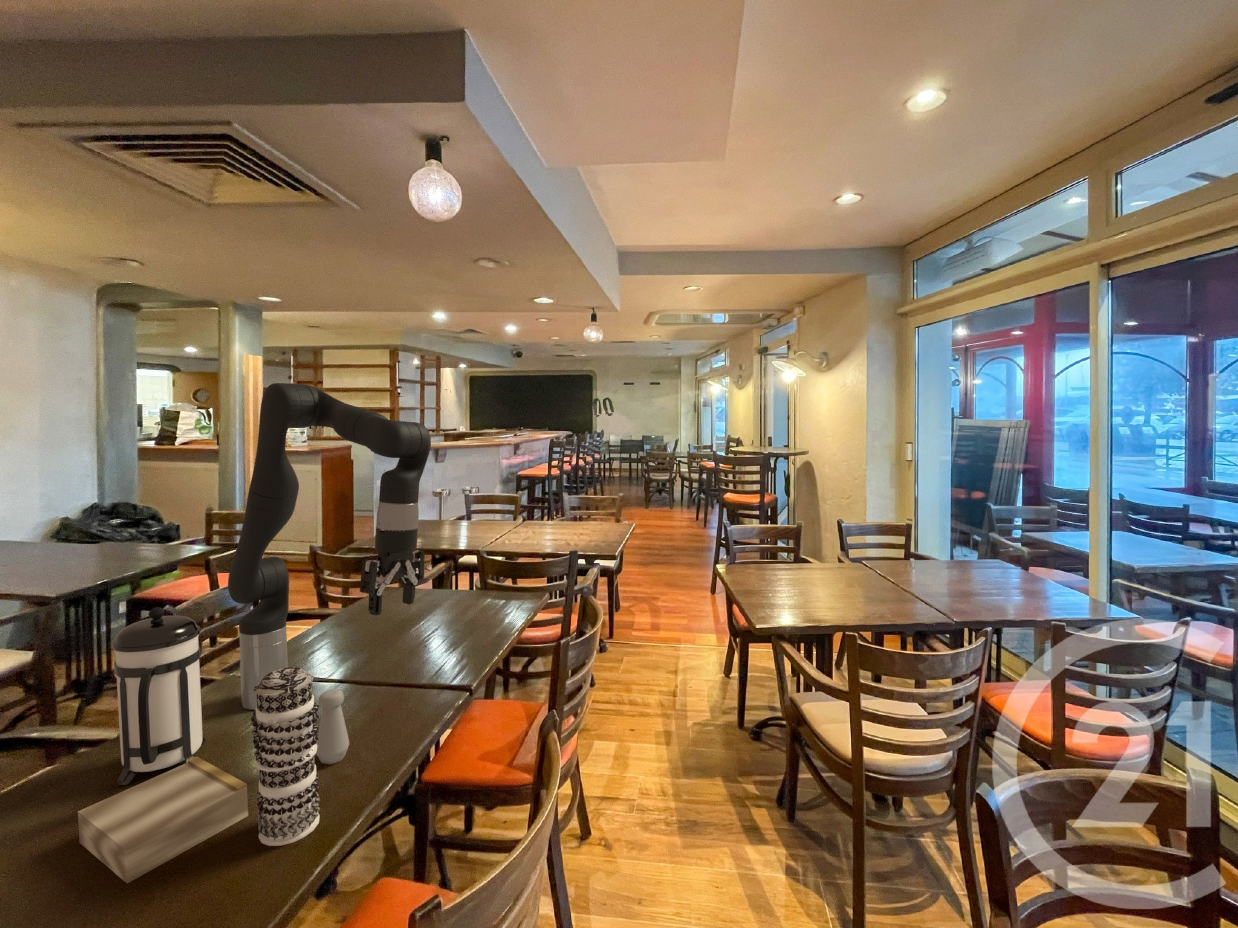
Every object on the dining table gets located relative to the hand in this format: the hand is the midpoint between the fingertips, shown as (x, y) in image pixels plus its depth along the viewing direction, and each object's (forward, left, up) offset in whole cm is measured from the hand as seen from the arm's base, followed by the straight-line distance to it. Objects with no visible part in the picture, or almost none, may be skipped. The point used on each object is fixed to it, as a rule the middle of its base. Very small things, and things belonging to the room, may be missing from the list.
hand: (392, 608), depth 110 cm
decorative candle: (+3, -23, -29) cm, 37 cm away
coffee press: (-34, -24, -29) cm, 51 cm away
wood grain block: (-14, -32, -29) cm, 45 cm away
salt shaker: (-9, -7, -29) cm, 31 cm away
